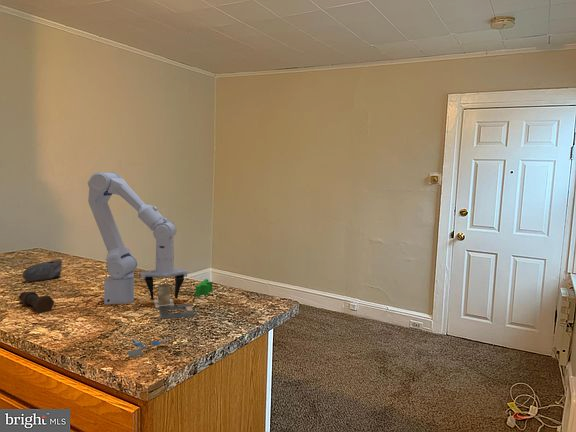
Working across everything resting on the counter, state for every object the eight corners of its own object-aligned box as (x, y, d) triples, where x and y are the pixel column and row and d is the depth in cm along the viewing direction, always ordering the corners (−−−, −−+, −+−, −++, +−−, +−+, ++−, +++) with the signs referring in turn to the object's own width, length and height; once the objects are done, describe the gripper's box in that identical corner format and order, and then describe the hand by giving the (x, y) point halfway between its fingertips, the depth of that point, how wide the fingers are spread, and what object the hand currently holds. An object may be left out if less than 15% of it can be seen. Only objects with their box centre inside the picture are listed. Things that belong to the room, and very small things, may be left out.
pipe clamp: (205, 300, 150) (205, 287, 149) (195, 299, 150) (195, 286, 149) (214, 291, 161) (214, 279, 160) (205, 290, 161) (205, 278, 161)
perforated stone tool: (25, 284, 158) (25, 266, 157) (19, 281, 161) (19, 263, 161) (66, 277, 170) (66, 260, 169) (60, 275, 173) (60, 258, 172)
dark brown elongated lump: (26, 306, 139) (48, 316, 131) (11, 302, 136) (32, 311, 127) (35, 290, 141) (57, 298, 132) (21, 285, 138) (42, 293, 129)
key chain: (136, 359, 101) (136, 356, 101) (109, 353, 104) (109, 349, 104) (172, 339, 114) (172, 336, 114) (147, 334, 117) (147, 331, 117)
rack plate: (161, 321, 126) (161, 316, 126) (158, 310, 136) (159, 305, 135) (195, 318, 130) (195, 313, 130) (190, 308, 139) (190, 303, 139)
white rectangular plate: (155, 309, 136) (155, 307, 136) (153, 302, 144) (153, 300, 144) (174, 308, 138) (174, 306, 138) (172, 301, 146) (172, 298, 146)
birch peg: (159, 305, 139) (159, 287, 138) (158, 301, 142) (158, 284, 141) (170, 304, 140) (170, 286, 139) (169, 301, 143) (169, 283, 143)
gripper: (142, 261, 133) (141, 303, 134) (188, 260, 138) (187, 300, 140) (141, 257, 140) (140, 297, 141) (185, 255, 145) (185, 294, 146)
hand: (164, 298), depth 141 cm, fingers open, 7 cm apart
